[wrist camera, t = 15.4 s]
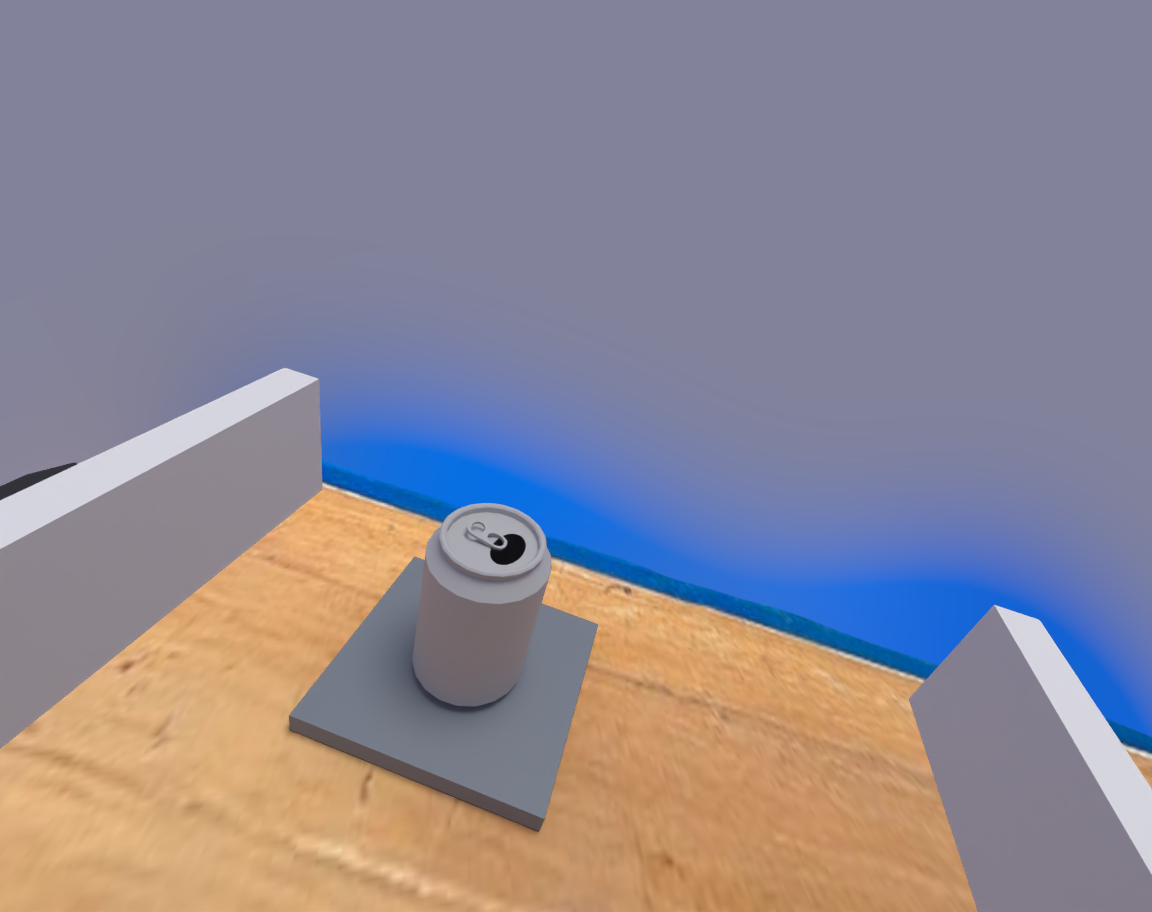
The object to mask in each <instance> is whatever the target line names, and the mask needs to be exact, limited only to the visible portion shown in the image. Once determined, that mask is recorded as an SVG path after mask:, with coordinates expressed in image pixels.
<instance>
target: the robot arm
mask: <svg viewBox="0 0 1152 912" xmlns="http://www.w3.org/2000/svg"><path fill="white" fill-rule="evenodd" d="M319 398H320V397H319V379H317V378H314V377H311V376H308V375H305V374H302V373H299V372H296V371H293V370H290V369H287V368H283V369H281V370H279V371H277V372H274V373H272V374H270V375H268V376H266V377H264V378H262V379H259V380H257V381H255V382H253V383H251V384H249V385H247V386H245V387H242V388H240V389H238V390H236V391H234V392H232V393H230V394H227V395H225V396H223V397H221V398H219V399H217V400H214V401H212V402H210V403H208V404H206V405H204V406H202V407H200V408H197V409H195V410H193V411H191V412H189V413H187V414H185V415H182V416H180V417H178V418H176V419H174V420H172V421H169V422H167V423H165V424H163V425H161V426H159V427H157V428H155V429H152V430H150V431H148V432H146V433H144V434H142V435H139V436H138V437H135V438H133V439H131V440H129V441H127V442H124V443H123V444H120V445H118V446H116V447H114V448H112V449H110V450H107V451H105V452H103V453H101V454H99V455H97V456H95V457H92V458H90V459H88V460H86V461H84V462H82V463H79V464H76V463H71V464H66V465H63V466H59V467H55V468H51V469H47V470H43V471H40V472H35V473H32V474H28V475H25V476H23V477H20V478H18V479H16V480H14V481H11V482H9V483H7V484H5V485H2V486H0V749H1V748H2V747H3V746H4V745H6V744H7V743H8V742H9V741H11V740H12V739H13V738H14V737H15V736H17V735H18V734H19V733H20V732H22V731H23V730H24V729H25V728H27V727H28V726H29V725H30V724H32V723H33V722H34V721H35V720H37V719H38V718H39V717H40V716H42V715H43V714H44V713H45V712H47V711H48V710H49V709H50V708H51V707H53V706H54V705H55V704H56V703H58V702H59V701H60V700H61V699H63V698H64V697H65V696H66V695H68V694H69V693H70V692H71V691H73V690H74V689H75V688H76V687H78V686H79V685H80V684H81V683H83V682H84V681H85V680H86V679H87V678H89V677H90V676H91V675H92V674H94V673H95V672H96V671H97V670H99V669H100V668H101V667H102V666H104V665H105V664H106V663H107V662H109V661H110V660H111V659H112V658H114V657H115V656H116V655H117V654H119V653H120V652H121V651H122V650H123V649H125V648H126V647H127V646H128V645H130V644H131V643H132V642H133V641H135V640H136V639H137V638H138V637H140V636H141V635H142V634H143V633H145V632H146V631H147V630H148V629H150V628H151V627H152V626H153V625H155V624H156V623H157V622H158V621H159V620H161V619H162V618H163V617H164V616H166V615H167V614H168V613H169V612H171V611H172V610H173V609H174V608H176V607H177V606H178V605H179V604H181V603H182V602H183V601H184V600H186V599H187V598H188V597H189V596H191V595H192V594H193V593H194V592H195V591H197V590H198V589H199V588H200V587H202V586H203V585H204V584H205V583H207V582H208V581H209V580H210V579H212V578H213V577H214V576H215V575H217V574H218V573H219V572H220V571H222V570H223V569H224V568H225V567H227V566H228V565H229V564H230V563H231V562H233V561H234V560H235V559H236V558H238V557H239V556H240V555H241V554H243V553H244V552H245V551H246V550H248V549H249V548H250V547H251V546H253V545H254V544H255V543H256V542H258V541H259V540H260V539H261V538H263V537H264V536H265V535H266V534H267V533H269V532H270V531H271V530H272V529H274V528H275V527H276V526H277V525H279V524H280V523H281V522H282V521H284V520H285V519H286V518H287V517H289V516H290V515H291V514H292V513H294V512H295V511H296V510H297V509H299V508H300V507H301V506H302V505H303V504H305V503H306V502H307V501H308V500H310V499H311V498H312V497H313V496H315V495H316V494H317V493H318V492H320V491H321V490H322V462H321V431H320V430H321V429H320V399H319ZM909 701H910V704H911V707H912V710H913V713H914V716H915V719H916V722H917V725H918V728H919V731H920V735H921V738H922V741H923V744H924V747H925V750H926V753H927V756H928V759H929V762H930V765H931V768H932V772H933V775H934V778H935V781H936V784H937V787H938V790H939V793H940V796H941V799H942V802H943V805H944V809H945V812H946V815H947V818H948V821H949V824H950V827H951V830H952V833H953V836H954V839H955V842H956V845H957V849H958V852H959V855H960V858H961V861H962V864H963V867H964V870H965V873H966V876H967V879H968V882H969V886H970V889H971V892H972V895H973V898H974V901H975V904H976V907H977V910H978V912H1152V789H1151V787H1150V786H1149V784H1148V783H1147V781H1146V780H1145V778H1144V777H1143V775H1142V774H1141V772H1140V771H1139V769H1138V768H1137V766H1136V765H1135V763H1134V762H1133V760H1132V759H1131V757H1130V756H1129V754H1128V753H1127V751H1126V750H1125V748H1124V747H1123V745H1122V744H1121V742H1120V741H1119V739H1118V738H1117V736H1116V735H1115V733H1114V732H1113V730H1112V729H1111V727H1110V726H1109V724H1108V723H1107V721H1106V720H1105V718H1104V717H1103V715H1102V714H1101V712H1100V711H1099V709H1098V708H1097V706H1096V704H1095V703H1094V701H1093V700H1092V698H1091V697H1090V695H1089V694H1088V692H1087V691H1086V689H1085V688H1084V686H1083V685H1082V684H1081V682H1080V681H1079V679H1078V677H1077V676H1076V674H1075V673H1074V671H1073V670H1072V668H1071V667H1070V665H1069V664H1068V662H1067V661H1066V659H1065V658H1064V656H1063V655H1062V653H1061V652H1060V650H1059V649H1058V648H1057V646H1056V644H1055V643H1054V641H1053V640H1052V638H1051V637H1050V635H1049V634H1048V632H1047V631H1046V629H1045V628H1044V626H1043V625H1042V623H1041V622H1040V620H1038V619H1035V618H1032V617H1029V616H1025V615H1023V614H1020V613H1017V612H1014V611H1011V610H1008V609H1005V608H1002V607H999V606H996V605H994V606H993V607H992V608H991V609H990V610H989V611H988V612H987V614H985V616H984V617H983V618H982V619H981V620H980V621H979V622H978V623H977V624H976V626H975V627H974V628H973V629H972V630H971V631H970V632H969V633H968V634H967V635H966V637H965V638H964V639H963V640H962V641H961V642H960V643H959V644H958V645H957V647H956V648H955V649H954V650H953V651H952V652H951V653H950V654H949V655H948V657H946V659H945V660H944V661H943V662H942V663H941V664H940V665H939V666H938V667H937V668H936V670H935V671H934V672H933V673H932V674H931V675H930V676H929V677H928V678H927V680H926V681H925V682H924V683H923V684H922V685H921V686H920V687H919V688H918V689H917V691H916V692H915V693H914V694H913V695H912V696H911V697H910V698H909Z"/></svg>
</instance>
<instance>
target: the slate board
mask: <svg viewBox="0 0 1152 912" xmlns="http://www.w3.org/2000/svg"><path fill="white" fill-rule="evenodd" d="M424 562H425V560H422V559H420V558H417V557H414V558H413V559H412V561H411V562H410V563H409V564H408V566H407V567H406V568H405V569H404V571H403V572H402V573H401V574H400V576H399V577H398V578H397V579H396V581H395V582H394V583H393V585H392V586H391V587H390V588H389V590H388V591H387V592H386V593H385V595H384V596H383V597H382V598H381V600H380V601H379V602H378V604H377V605H376V606H375V607H374V609H373V610H372V611H371V612H370V614H369V615H368V616H367V617H366V619H365V620H364V621H363V622H362V624H361V625H360V626H359V628H358V629H357V630H356V631H355V633H354V634H353V635H352V636H351V638H350V639H349V640H348V641H347V643H346V644H345V645H344V647H343V648H342V649H341V650H340V652H339V653H338V654H337V655H336V657H335V658H334V659H333V660H332V662H331V663H330V664H329V666H328V667H327V668H326V669H325V671H324V672H323V673H322V674H321V676H320V677H319V678H318V679H317V681H316V682H315V683H314V684H313V686H312V687H311V688H310V690H309V691H308V692H307V693H306V695H305V696H304V697H303V698H302V700H301V701H300V702H299V703H298V705H297V706H296V707H295V709H294V710H293V711H292V712H291V714H290V715H289V722H290V730H292V731H294V732H297V733H299V734H301V735H304V736H306V737H309V738H311V739H314V740H316V741H319V742H321V743H323V744H326V745H328V746H331V747H333V748H336V749H338V750H341V751H343V752H346V753H348V754H350V755H353V756H355V757H358V758H360V759H363V760H365V761H368V762H370V763H372V764H375V765H377V766H380V767H382V768H385V769H387V770H390V771H392V772H394V773H397V774H399V775H402V776H404V777H407V778H409V779H412V780H414V781H417V782H419V783H421V784H424V785H426V786H429V787H431V788H434V789H436V790H439V791H441V792H443V793H446V794H448V795H451V796H453V797H456V798H458V799H461V800H463V801H465V802H468V803H470V804H473V805H475V806H478V807H480V808H483V809H485V810H488V811H490V812H492V813H495V814H497V815H500V816H502V817H505V818H507V819H510V820H512V821H514V822H517V823H519V824H522V825H524V826H527V827H529V828H532V829H534V830H536V831H540V828H541V826H542V824H543V821H544V819H545V815H546V812H547V808H548V804H549V801H550V797H551V793H552V790H553V786H554V783H555V779H556V775H557V772H558V768H559V765H560V761H561V757H562V754H563V750H564V746H565V743H566V739H567V736H568V732H569V728H570V725H571V721H572V717H573V714H574V710H575V707H576V703H577V699H578V696H579V692H580V689H581V685H582V681H583V678H584V674H585V670H586V667H587V663H588V660H589V656H590V652H591V649H592V645H593V641H594V638H595V634H596V631H597V627H598V624H596V623H593V622H590V621H588V620H585V619H582V618H579V617H577V616H574V615H571V614H569V613H566V612H563V611H561V610H558V609H555V608H552V607H550V606H547V605H544V604H542V603H541V606H540V610H539V613H538V617H537V620H536V623H535V627H534V630H533V634H532V637H531V640H530V644H529V647H528V651H527V654H526V657H525V661H524V664H523V667H522V670H521V673H520V676H519V679H518V681H517V682H516V683H515V685H514V686H513V687H512V688H511V690H510V691H509V692H508V693H507V694H505V695H503V696H502V697H500V698H499V699H497V700H495V701H494V702H491V703H487V704H483V705H479V706H456V705H453V704H450V703H447V702H444V701H441V700H439V699H437V698H436V697H435V696H433V695H432V694H431V693H429V692H428V691H427V690H425V689H424V687H423V686H422V684H421V683H420V681H419V680H418V678H417V677H416V675H415V671H414V666H413V662H412V658H413V650H414V642H415V634H416V626H417V618H418V610H419V602H420V594H421V586H422V578H423V570H424Z"/></svg>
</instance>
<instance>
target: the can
mask: <svg viewBox="0 0 1152 912" xmlns="http://www.w3.org/2000/svg"><path fill="white" fill-rule="evenodd" d="M551 569H552V565H551V555H550V553H549V551H548V549H547V547H546V537H545V535H544V533H543V531H542V530H541V528H540V526H539V525H538V524H537V523H536V522H535V521H534V520H532V518H530V517H529V516H528V515H526V514H524V513H522V512H521V511H519V510H517V509H514V508H511V507H508V506H505V505H500V504H491V503H482V504H472V505H469V506H465V507H462V508H459V509H457V510H456V511H454V512H453V513H451V514H450V515H448V516H447V517H446V519H445V520H444V522H443V523H442V525H441V527H440V528H438V529H437V530H436V531H435V532H434V534H433V535H432V536H431V538H430V539H429V541H428V542H427V548H426V554H425V562H424V570H423V578H422V586H421V594H420V602H419V610H418V618H417V626H416V634H415V642H414V650H413V658H412V662H413V666H414V671H415V675H416V677H417V678H418V680H419V681H420V683H421V684H422V686H423V687H424V689H425V690H427V691H428V692H429V693H431V694H432V695H433V696H435V697H436V698H437V699H439V700H441V701H444V702H447V703H450V704H453V705H456V706H479V705H483V704H487V703H491V702H494V701H495V700H497V699H499V698H500V697H502V696H503V695H505V694H507V693H508V692H509V691H510V690H511V688H512V687H513V686H514V685H515V683H516V682H517V681H518V679H519V676H520V673H521V670H522V667H523V664H524V661H525V657H526V654H527V651H528V647H529V644H530V640H531V637H532V634H533V630H534V627H535V623H536V620H537V617H538V613H539V610H540V606H541V603H542V600H543V596H544V593H545V589H546V586H547V583H548V579H549V576H550V572H551Z"/></svg>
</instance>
